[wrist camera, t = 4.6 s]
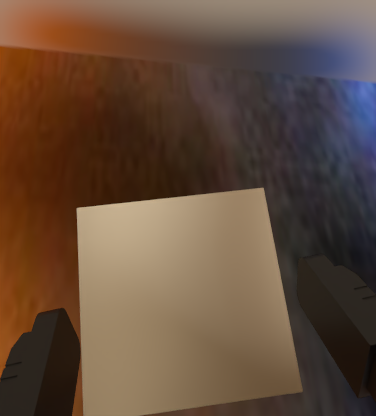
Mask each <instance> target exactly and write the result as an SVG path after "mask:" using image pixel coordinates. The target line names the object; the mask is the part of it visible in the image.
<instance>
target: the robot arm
mask: <svg viewBox="0 0 376 416" xmlns="http://www.w3.org/2000/svg"><path fill="white" fill-rule="evenodd" d="M297 296H298V300H299V303H300V305H301V307H302V309H303V311H304V312H305V314H306V315H307V317H308V319H309V320H310V322H311V323H312V325H313V327H314V328H315V330H316V331H317V333H318V335H319V336H320V338H321V340H322V341H323V343H324V344H325V346H326V348H327V349H328V351H329V352H330V354H331V356H332V357H333V359H334V360H335V362H336V364H337V365H338V367H339V369H340V370H341V372H342V373H343V375H344V377H345V378H346V380H347V381H348V383H349V385H350V386H351V388H352V389H353V391H354V393H355V394H356V396H357V397H358V398H362V397H366V396H370V395H371V396H372V397H373V399H374V400H375V402H376V295H375V293H374V292H373V291H372V290H371V289H370V288H368V287H367V285H366V284H365V283H364V282H363V281H362V279H361V278H360V277H359V276H358V275H357V274H356V273H354V272H352V271H351V270H349V269H347V268H345V267H344V266H342V265H339V266H335V267H334V265H333V264H332V263H331V262H330V261H329V260H328V258H327V257H326V256H325V255H324V254H316V255H312V256H307V257H302V258H300V259H299V261H298V277H297ZM79 363H80V343H79V339H78V337H77V334H76V332H75V330H74V328H73V326H72V323H71V321H70V319H69V317H68V315H67V312H66V311H65V309H64V308H60V309H55V310H50V311H46V312H41V313H38V315H37V316H36V319H35V322H34V325H33V328H32V332H27V333H23V334H22V335H21V337H20V338H19V339H18V341H17V342H16V343H15V345H14V346H13V347H12V349H11V351H10V354H9V356H8V359H7V362H6V365H5V366H6V368H5V369H4V370H3V373H2V376H1V378H0V380H1V381H0V416H72V411H73V404H74V397H75V390H76V383H77V376H78V369H79Z"/></svg>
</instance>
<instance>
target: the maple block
mask: <svg viewBox="0 0 376 416" xmlns="http://www.w3.org/2000/svg"><path fill="white" fill-rule="evenodd" d="M77 230H78V261H79V292H80V323H81V354H82V385H83V415H84V416H140V415H147V414H154V413H161V412H167V411H174V410H181V409H188V408H195V407H202V406H208V405H215V404H222V403H229V402H236V401H243V400H249V399H256V398H263V397H270V396H277V395H284V394H290V393H297V392H303V390H302V385H301V380H300V375H299V369H298V364H297V359H296V354H295V349H294V344H293V338H292V333H291V328H290V323H289V318H288V313H287V307H286V302H285V297H284V292H283V287H282V282H281V276H280V271H279V266H278V261H277V256H276V250H275V245H274V240H273V235H272V230H271V225H270V219H269V214H268V209H267V204H266V199H265V194H264V188H257V189H248V190H239V191H229V192H220V193H211V194H202V195H192V196H183V197H174V198H165V199H155V200H146V201H137V202H128V203H118V204H109V205H100V206H91V207H81V208H77Z"/></svg>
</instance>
